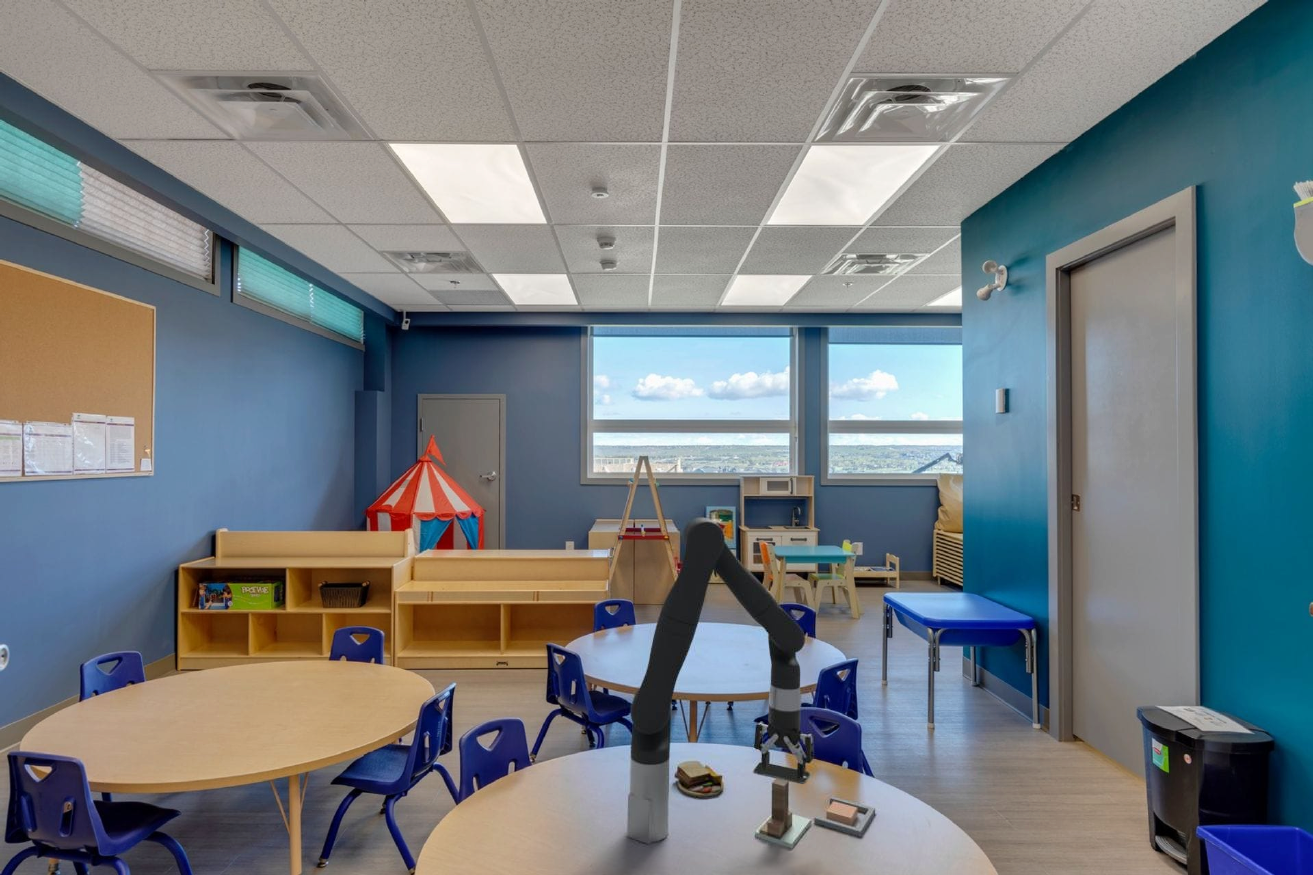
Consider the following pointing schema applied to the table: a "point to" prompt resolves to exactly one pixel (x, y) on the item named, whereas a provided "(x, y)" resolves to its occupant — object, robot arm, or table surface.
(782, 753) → the table surface
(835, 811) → the tile
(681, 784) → the toy sandwich meal
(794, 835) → the board
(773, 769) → the smartphone
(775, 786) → the brown block
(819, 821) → the bay
